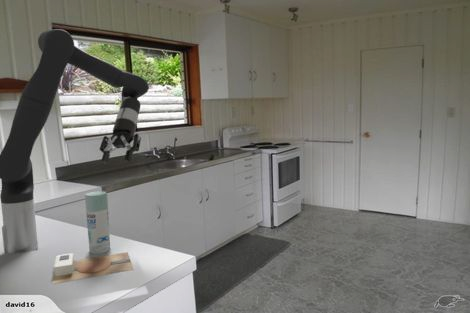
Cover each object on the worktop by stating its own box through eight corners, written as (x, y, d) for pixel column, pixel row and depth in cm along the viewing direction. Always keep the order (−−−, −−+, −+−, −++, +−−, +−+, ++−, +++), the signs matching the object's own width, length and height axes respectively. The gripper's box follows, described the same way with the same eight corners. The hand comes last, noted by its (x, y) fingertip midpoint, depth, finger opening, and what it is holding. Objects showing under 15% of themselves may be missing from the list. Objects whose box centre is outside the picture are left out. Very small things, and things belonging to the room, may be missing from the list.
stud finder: (72, 273, 97) (72, 263, 97) (54, 276, 95) (54, 266, 95) (73, 261, 105) (73, 252, 105) (57, 264, 104) (56, 255, 103)
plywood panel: (53, 289, 91) (52, 283, 91) (57, 268, 104) (57, 262, 104) (133, 274, 99) (133, 268, 99) (128, 256, 112) (127, 251, 112)
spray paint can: (114, 253, 115) (110, 192, 112) (95, 260, 110) (91, 196, 107) (104, 248, 119) (100, 190, 117) (85, 254, 114) (81, 193, 112)
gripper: (103, 118, 129) (91, 157, 121) (138, 115, 126) (128, 155, 118) (114, 130, 135) (103, 168, 127) (148, 127, 132) (139, 166, 124)
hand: (115, 161), depth 123 cm, fingers open, 8 cm apart
